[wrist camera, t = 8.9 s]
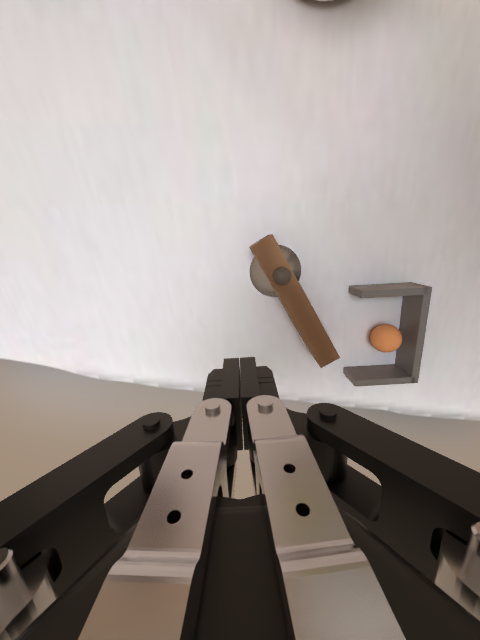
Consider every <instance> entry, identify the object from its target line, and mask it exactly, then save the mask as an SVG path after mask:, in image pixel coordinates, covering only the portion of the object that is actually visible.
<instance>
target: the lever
mask: <svg viewBox="0 0 480 640" xmlns="http://www.w3.org/2000/svg"><path fill="white" fill-rule="evenodd" d="M250 249H251V251H252V252H253V254H254V256H255V258H256V259H257V261H258V263H259V265H260V266H261V268H262V270H263V271H264V273H265V275H266V277H267V278H268V280H269V282H270V284H271V285H272V287H273V289H274V290H275V292H276V294H277V296H278V297H279V299H280V301H281V303H282V304H283V306H284V308H285V309H286V311H287V313H288V315H289V316H290V318H291V320H292V322H293V323H294V325H295V327H296V328H297V330H298V332H299V334H300V335H301V337H302V339H303V341H304V342H305V344H306V346H307V347H308V349H309V351H310V353H311V354H312V356H313V357H314V359H315V360H316V361H317V363H318V364H319V366H320V367H321V368H322V367H324V366H325V365H327V364H329V363H331V362H333V361H335V360H337V359H338V358H340V357H339V355H338V353H337V351H336V349H335V348H334V346H333V344H332V342H331V340H330V338H329V337H328V335H327V333H326V331H325V329H324V327H323V326H322V324H321V322H320V320H319V318H318V317H317V315H316V313H315V311H314V309H313V307H312V306H311V304H310V302H309V300H308V298H307V296H306V295H305V293H304V291H303V289H302V287H301V285H300V284H299V282H298V280H297V278H296V276H295V275H294V273H293V271H292V269H291V267H290V265H289V264H288V262H287V260H286V258H285V256H284V254H283V253H282V251H281V249H280V247H279V245H278V243H277V242H276V240H275V238H274V236H273V234H272V235H267V236H266V237H264V238H263V239H261V240H259V241H258V242H256V243H255V244H253V245H251V246H250Z"/></svg>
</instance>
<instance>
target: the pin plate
mask: <svg viewBox="0 0 480 640" xmlns="http://www.w3.org/2000/svg"><path fill="white" fill-rule="evenodd" d="M279 247H280V249H281V251H282V253H283V254H284V256H285V258H286V260H287V262H288V264H289V265H290V267H291V269H292V271H293V273H294V275H295V276H296V278H297V280H298V281H299V278H300V274H301V265H300V261H299V259H298V257H297V256H296V254H295V253H294V252H293V251H292V250H291V249H289V248H287V247H285V246H282V245H279ZM250 277H251V281H252V283H253V285H254V286H255V288H256V289H257V290H258V291H259V292H261V293H262V294H264V295H267V296H272V297H277V294H276V292H275V290H274V289H273V287H272V285H271V284H270V282H269V280H268V278H267V277H266V275H265V273H264V271H263V270H262V268H261V266H260V265H259V263H258V261H257V259H256V258H255V256H254V258H253V260H252V262H251V266H250Z"/></svg>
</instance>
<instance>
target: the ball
mask: <svg viewBox="0 0 480 640" xmlns="http://www.w3.org/2000/svg"><path fill="white" fill-rule="evenodd" d="M370 340H371V343H372V345H373V346H374V347H375V348H376V349H377V350H379V351H381V352H392V351H395V350H396V349H398V348H399V346H400V345H401V343H402V335H401V333H400V331H399V330H398V329H397V328H396V327H394V326H392V325H388V324H383V325H379V326H377V327H376V328H374V329H373V331H372V332H371V336H370Z"/></svg>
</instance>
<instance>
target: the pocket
mask: <svg viewBox="0 0 480 640" xmlns="http://www.w3.org/2000/svg"><path fill="white" fill-rule="evenodd" d="M431 291H432V287H430V286H425V285H421V284H416V283H412V282H410V283H392V284H373V285H354V286H349V293H351V294H354V295H356V296H358V297H360V298H372V297H390V296H403V303H402V311H401V319H400V328H399V331H400V333H401V335H402V343H401V345H400V346H399V348H398V349H397V352H396V361H395V364H393V365H375V366H358V367H344V372H343V373H344V374H345V375H346V376H347V378H348V379H349V380H350V381H351V382H352V383H353V385H354V386H369V385H387V384H405V383H418V378H419V371H420V364H421V357H422V351H423V344H424V337H425V331H426V324H427V317H428V311H429V304H430V297H431Z"/></svg>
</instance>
